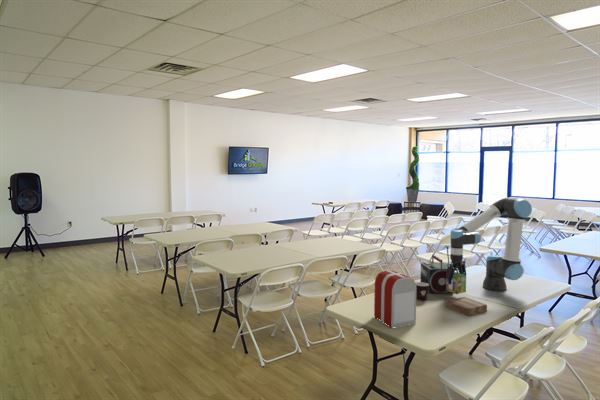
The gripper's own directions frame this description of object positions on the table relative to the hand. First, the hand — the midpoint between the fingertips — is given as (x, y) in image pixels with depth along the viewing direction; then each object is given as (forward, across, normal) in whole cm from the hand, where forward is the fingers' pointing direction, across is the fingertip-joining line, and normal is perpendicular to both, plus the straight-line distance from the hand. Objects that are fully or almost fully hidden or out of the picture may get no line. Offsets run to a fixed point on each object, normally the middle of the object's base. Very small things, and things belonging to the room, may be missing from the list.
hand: (456, 287), depth 258 cm
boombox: (+7, -2, -18) cm, 20 cm away
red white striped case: (+6, +60, +10) cm, 62 cm away
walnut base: (+7, +10, +17) cm, 21 cm away
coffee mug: (+7, +22, -10) cm, 26 cm away
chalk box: (+3, 0, 0) cm, 3 cm away
